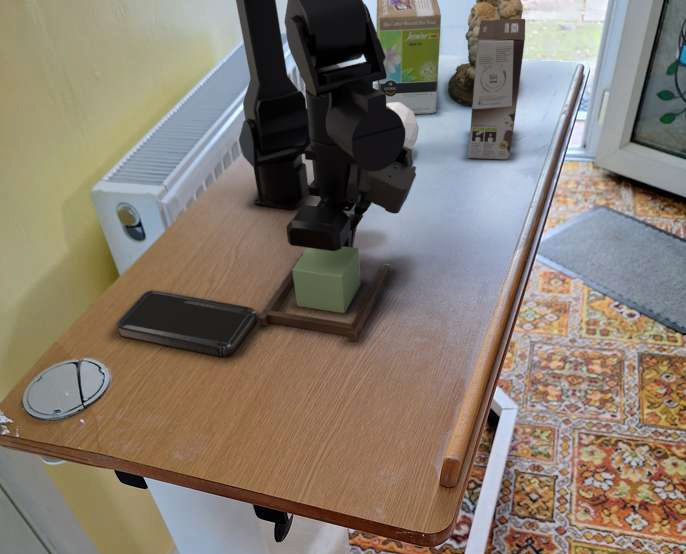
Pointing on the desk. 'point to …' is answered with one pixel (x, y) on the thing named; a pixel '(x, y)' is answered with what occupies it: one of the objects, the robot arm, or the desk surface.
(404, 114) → the geometric ball
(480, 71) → the coffee box
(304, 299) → the block
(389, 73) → the tea box
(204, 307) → the phone
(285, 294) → the bay
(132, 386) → the desk surface
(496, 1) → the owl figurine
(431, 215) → the desk surface
